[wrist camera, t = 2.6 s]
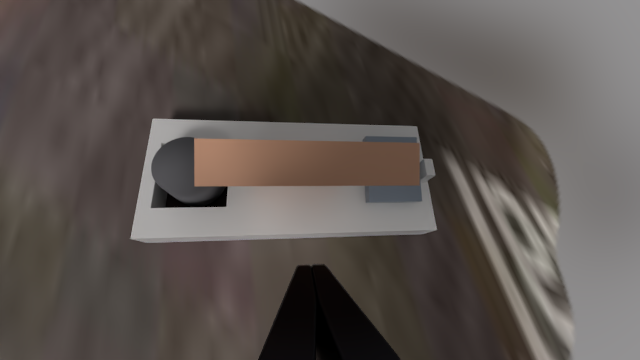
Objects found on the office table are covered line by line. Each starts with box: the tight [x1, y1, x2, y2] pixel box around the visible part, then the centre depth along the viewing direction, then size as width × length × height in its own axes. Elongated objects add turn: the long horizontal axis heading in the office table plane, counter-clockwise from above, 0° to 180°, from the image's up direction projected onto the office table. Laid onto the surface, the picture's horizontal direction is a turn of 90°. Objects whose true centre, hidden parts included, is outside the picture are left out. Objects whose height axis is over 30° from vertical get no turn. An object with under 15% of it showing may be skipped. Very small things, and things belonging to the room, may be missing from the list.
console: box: [131, 119, 437, 243], centre depth 18 cm, size 8×19×4 cm, turn 93°
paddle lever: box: [194, 138, 420, 186], centre depth 12 cm, size 1×6×10 cm, turn 92°
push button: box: [151, 137, 225, 207], centre depth 17 cm, size 4×4×3 cm
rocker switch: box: [362, 136, 422, 203], centre depth 18 cm, size 4×4×1 cm
